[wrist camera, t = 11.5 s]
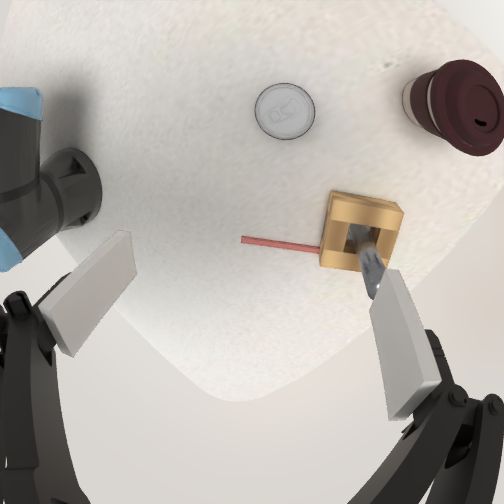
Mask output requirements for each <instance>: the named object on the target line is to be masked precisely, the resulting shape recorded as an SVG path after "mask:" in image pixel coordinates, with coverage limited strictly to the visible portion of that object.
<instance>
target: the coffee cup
mask: <svg viewBox="0 0 504 504" xmlns="http://www.w3.org/2000/svg"><path fill="white" fill-rule="evenodd" d="M402 100H403V106H404V110H405V112H406V114H407V115H408V117H409V118H410V119H411V120H412V121H413V122H414V123H415V124H416V125H418V126H420V127H422V128H424V129H425V130H427V131H428V132H430V133H432V134H434V135H436V136H438V137H441V138H443V139H445V140H447V141H448V142H449V143H450V144H451V145H452V146H453V147H455V148H456V149H458V150H460V151H462V152H464V153H467V154H469V155H472V156H485V155H488V154H490V153H492V152H493V151H495V150H496V149H497V148H498V147H499V145H500V144H501V142H502V141H503V138H504V95H503V93H502V91H501V88H500V86H499V85H498V83H497V82H496V80H495V79H494V77H493V76H492V75H491V74H490V73H489V72H488V71H487V70H486V69H485V68H484V67H482V66H481V65H479V64H477V63H475V62H473V61H469V60H455V61H450V62H448V63H446V64H444V65H443V66H441V67H440V68H439V69H437V70H434V71H431V72H429V73H426V74H423V75H421V76H420V77H418V78H417V79H414V80H412V81H411V82H409V83H408V84H407V86H406V87H405V89H404V92H403V99H402Z"/></svg>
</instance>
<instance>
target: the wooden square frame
mask: <svg viewBox="0 0 504 504" xmlns="http://www.w3.org/2000/svg"><path fill="white" fill-rule="evenodd" d="M403 215H404V212H403V211H402V210H401V209H400V207H399V206H398V205H397V204H396V203H394V202H390V201H385V200H380V199H375V198H370V197H365V196H359V195H354V194H348V193H343V192H337V191H331V192H330V197H329V203H328V208H327V214H326V219H325V224H324V229H323V234H322V239H321V244H320V251H319V262H320V266H321V267H328V268H335V269H342V270H349V271H356V272H362V271H361V268H360V265H359V261H358V258H357V255H356V251H355V248H354V245H353V242H352V241H348V240H346V238H347V234H348V229H349V225H350V223H355V224H361V225H366V226H372V228H371V232H370V234H371V236H372V239H373V241H374V243H375V245H376V247H377V250H378V252H379V254H380V256H381V259H382V261H383V263H384V266H385V268H386V269H387V266H388V263H389V260H390V257H391V254H392V251H393V248H394V245H395V242H396V239H397V236H398V232H399V229H400V226H401V222H402V219H403Z"/></svg>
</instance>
